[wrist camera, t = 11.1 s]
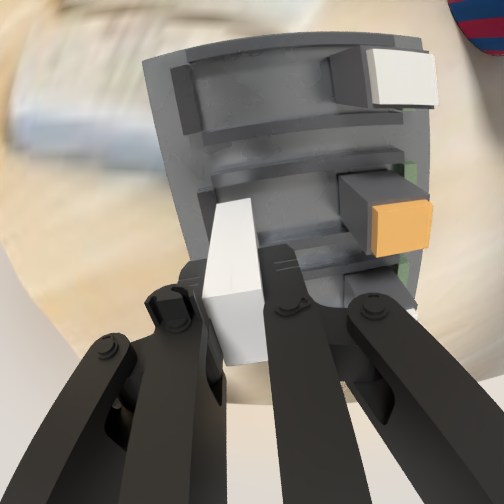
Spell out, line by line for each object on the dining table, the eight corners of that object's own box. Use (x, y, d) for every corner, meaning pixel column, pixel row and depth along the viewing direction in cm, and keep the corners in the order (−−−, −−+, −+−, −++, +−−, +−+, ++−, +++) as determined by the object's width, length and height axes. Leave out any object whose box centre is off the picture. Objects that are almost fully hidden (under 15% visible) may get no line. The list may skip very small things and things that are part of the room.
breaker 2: (344, 274, 17) (370, 325, 13) (389, 265, 17) (422, 311, 13) (343, 305, 18) (365, 356, 15) (386, 296, 18) (414, 343, 14)
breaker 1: (329, 55, 11) (366, 43, 8) (386, 56, 11) (437, 50, 7) (335, 103, 13) (375, 109, 9) (391, 102, 12) (442, 111, 9)
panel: (150, 63, 12) (136, 59, 11) (407, 40, 12) (428, 36, 10) (217, 323, 21) (215, 347, 19) (405, 289, 20) (418, 308, 18)
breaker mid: (338, 175, 14) (373, 208, 10) (391, 169, 14) (437, 199, 10) (340, 219, 15) (371, 262, 12) (390, 211, 15) (431, 251, 12)
